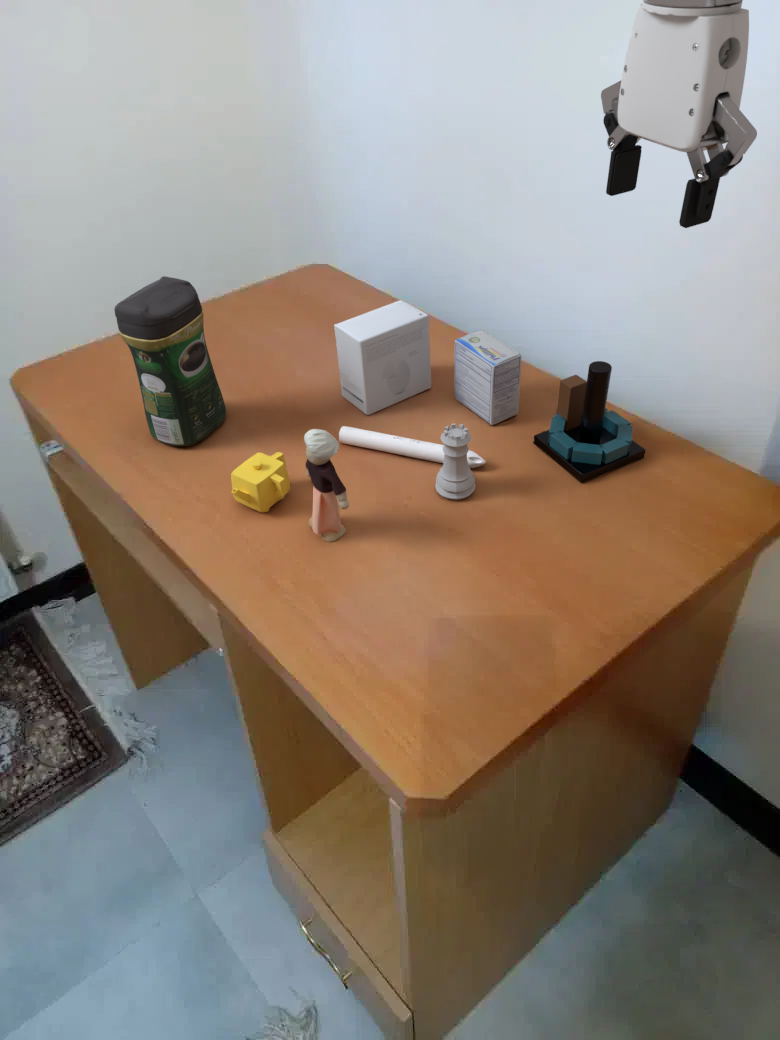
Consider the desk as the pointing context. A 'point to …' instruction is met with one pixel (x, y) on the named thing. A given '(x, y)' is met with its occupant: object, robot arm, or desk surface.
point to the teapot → (261, 481)
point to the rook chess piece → (455, 464)
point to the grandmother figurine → (325, 485)
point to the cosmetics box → (384, 356)
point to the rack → (591, 429)
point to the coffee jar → (172, 361)
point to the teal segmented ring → (571, 417)
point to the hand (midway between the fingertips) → (655, 207)
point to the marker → (400, 445)
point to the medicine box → (487, 376)
